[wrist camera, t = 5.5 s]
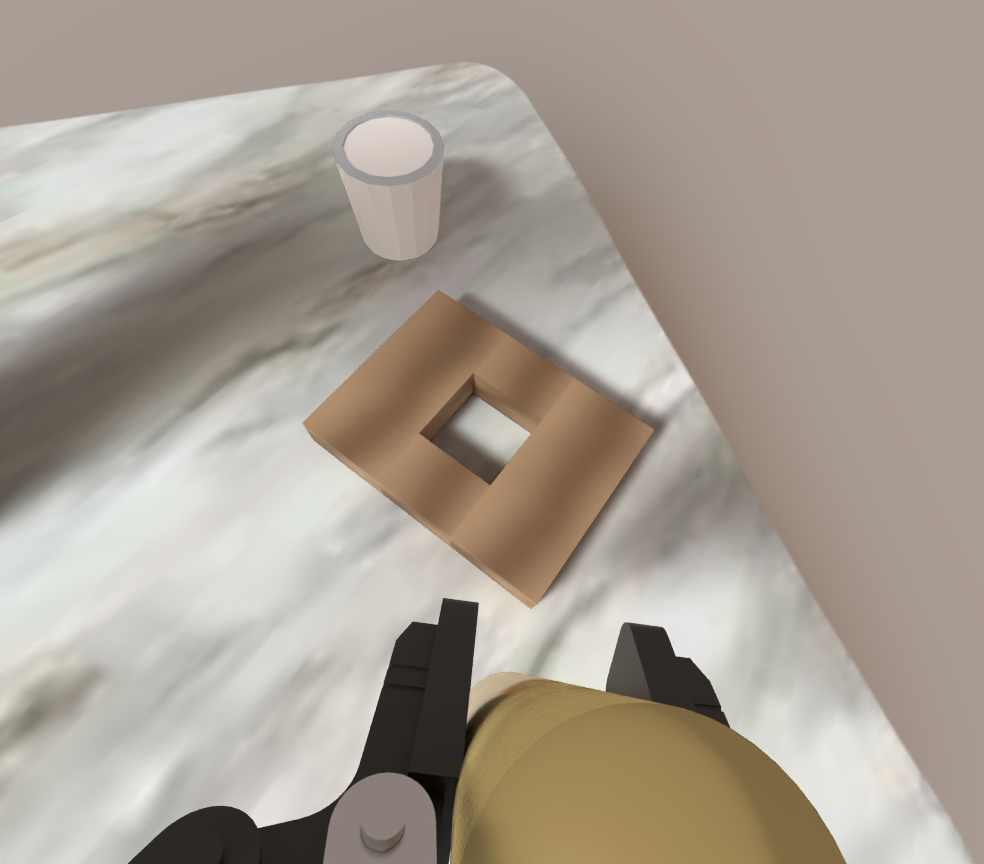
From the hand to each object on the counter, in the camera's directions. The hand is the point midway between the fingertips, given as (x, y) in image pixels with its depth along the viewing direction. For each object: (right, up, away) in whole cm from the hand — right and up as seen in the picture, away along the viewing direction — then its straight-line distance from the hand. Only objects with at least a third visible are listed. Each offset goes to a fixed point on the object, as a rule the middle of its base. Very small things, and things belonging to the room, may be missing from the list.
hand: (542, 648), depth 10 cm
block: (-2, +4, +21) cm, 21 cm away
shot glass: (-8, +19, +28) cm, 35 cm away
